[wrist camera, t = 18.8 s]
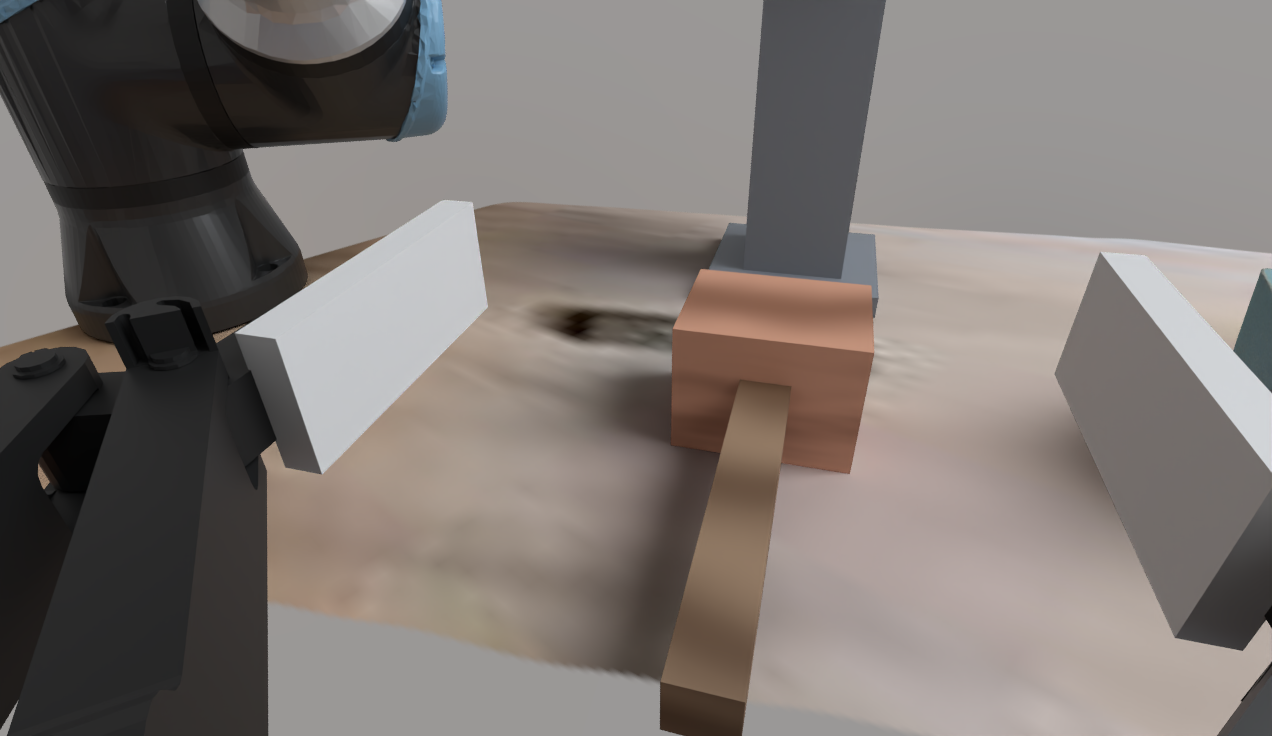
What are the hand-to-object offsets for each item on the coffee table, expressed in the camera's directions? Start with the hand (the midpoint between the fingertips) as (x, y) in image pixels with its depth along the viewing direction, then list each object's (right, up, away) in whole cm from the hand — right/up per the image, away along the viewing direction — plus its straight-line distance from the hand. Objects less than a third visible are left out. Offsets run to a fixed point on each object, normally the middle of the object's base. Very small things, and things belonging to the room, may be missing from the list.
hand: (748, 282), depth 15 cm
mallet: (+3, -9, +16) cm, 18 cm away
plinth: (+10, +5, +38) cm, 40 cm away
